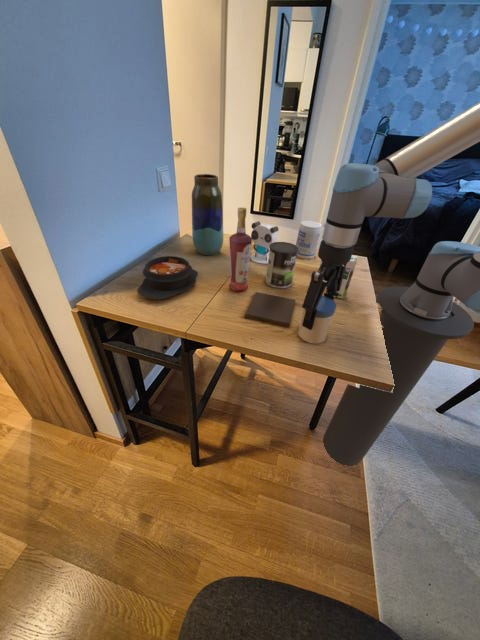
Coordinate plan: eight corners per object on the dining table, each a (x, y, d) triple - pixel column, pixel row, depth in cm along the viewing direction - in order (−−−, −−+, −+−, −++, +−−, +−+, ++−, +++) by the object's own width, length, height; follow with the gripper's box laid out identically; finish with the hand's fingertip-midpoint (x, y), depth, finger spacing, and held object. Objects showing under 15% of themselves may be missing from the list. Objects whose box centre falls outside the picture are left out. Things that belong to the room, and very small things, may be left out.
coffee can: (297, 283, 101) (304, 248, 92) (279, 291, 95) (285, 255, 87) (277, 273, 107) (282, 239, 98) (259, 280, 101) (263, 245, 92)
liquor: (238, 296, 91) (243, 213, 74) (224, 288, 95) (224, 208, 78) (252, 289, 95) (259, 209, 78) (237, 281, 99) (241, 204, 82)
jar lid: (314, 296, 75) (315, 291, 74) (340, 308, 71) (342, 303, 70) (297, 307, 70) (299, 302, 69) (324, 321, 66) (326, 315, 65)
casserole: (170, 266, 107) (167, 247, 102) (209, 277, 101) (209, 257, 96) (125, 295, 88) (119, 272, 83) (169, 310, 83) (166, 287, 78)
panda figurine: (244, 257, 117) (246, 224, 108) (259, 250, 124) (262, 218, 115) (265, 266, 111) (269, 231, 102) (280, 258, 118) (285, 225, 109)
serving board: (294, 303, 89) (295, 299, 88) (288, 327, 79) (289, 323, 78) (255, 295, 92) (255, 291, 91) (244, 317, 81) (244, 313, 81)
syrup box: (328, 295, 94) (339, 258, 85) (329, 288, 99) (340, 252, 90) (344, 299, 93) (357, 261, 84) (345, 291, 97) (357, 255, 88)
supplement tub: (292, 257, 120) (297, 224, 111) (296, 249, 127) (302, 219, 118) (313, 261, 118) (320, 228, 109) (316, 253, 125) (323, 222, 116)
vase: (193, 246, 125) (189, 172, 106) (222, 246, 127) (222, 173, 108) (192, 258, 114) (187, 178, 95) (224, 258, 116) (225, 179, 97)
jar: (326, 329, 79) (335, 300, 72) (325, 346, 72) (335, 316, 66) (299, 323, 80) (306, 294, 74) (296, 339, 74) (303, 309, 68)
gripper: (343, 228, 68) (322, 301, 81) (298, 248, 55) (282, 330, 69) (372, 236, 64) (344, 311, 77) (330, 260, 51) (306, 344, 65)
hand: (315, 320), depth 73 cm, fingers closed on jar lid, 8 cm apart
